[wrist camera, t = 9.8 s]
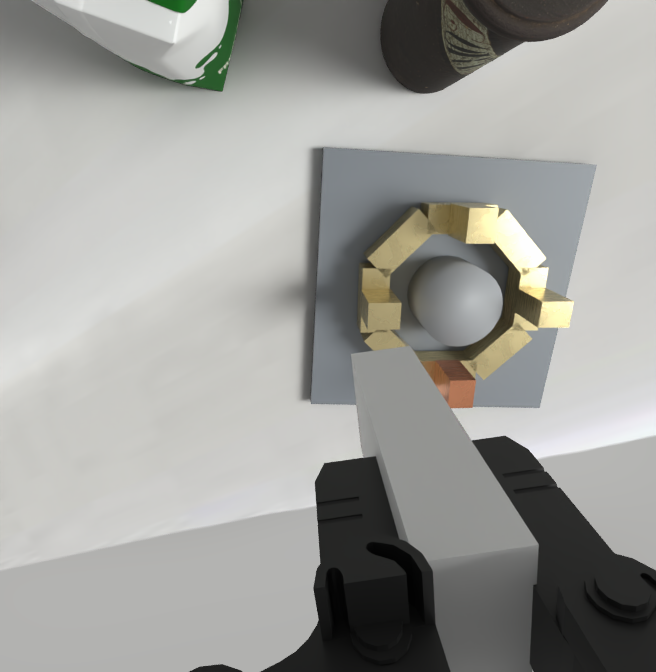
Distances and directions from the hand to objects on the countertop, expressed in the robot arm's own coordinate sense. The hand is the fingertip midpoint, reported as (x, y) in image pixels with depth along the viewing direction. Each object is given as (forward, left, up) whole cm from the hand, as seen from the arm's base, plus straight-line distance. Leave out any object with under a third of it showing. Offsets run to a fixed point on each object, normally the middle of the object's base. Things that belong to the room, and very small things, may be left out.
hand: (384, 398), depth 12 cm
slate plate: (+12, -5, -32) cm, 35 cm away
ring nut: (+12, -5, -31) cm, 34 cm away
